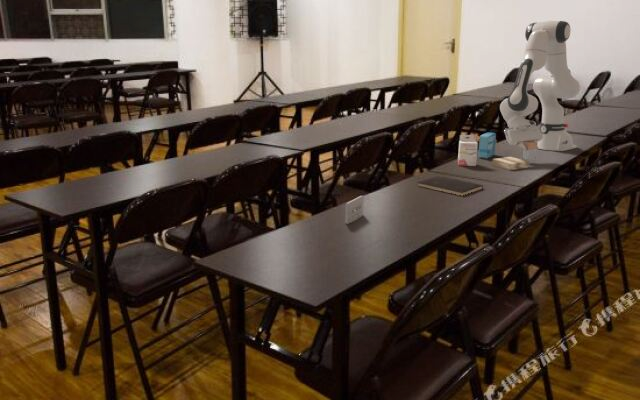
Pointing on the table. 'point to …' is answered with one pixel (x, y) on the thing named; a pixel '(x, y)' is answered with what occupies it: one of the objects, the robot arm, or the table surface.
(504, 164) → the birch stand
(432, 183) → the hardcover book
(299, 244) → the table surface
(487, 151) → the data package
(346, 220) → the cassette
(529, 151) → the block
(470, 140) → the ink cartridge box
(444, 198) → the table surface
